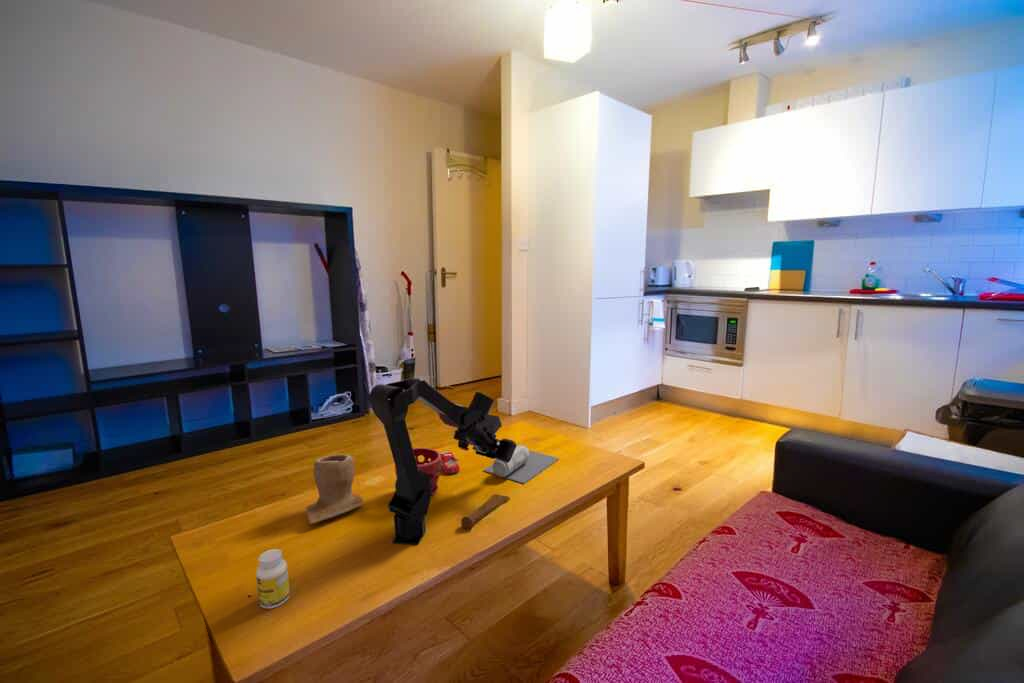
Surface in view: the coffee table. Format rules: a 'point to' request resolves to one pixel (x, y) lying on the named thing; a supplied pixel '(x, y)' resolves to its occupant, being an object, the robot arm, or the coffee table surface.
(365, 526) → the coffee table surface
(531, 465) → the mat
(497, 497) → the primitive tool
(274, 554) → the supplement bottle
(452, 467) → the race car
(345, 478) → the stone cup
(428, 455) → the plant pot
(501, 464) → the energy drink can
